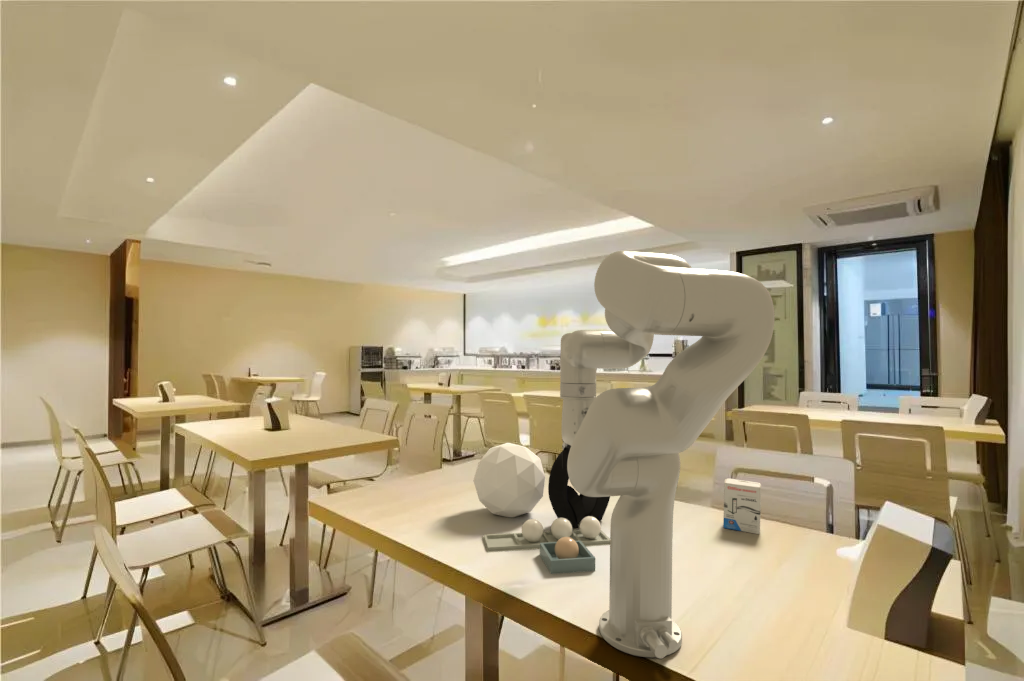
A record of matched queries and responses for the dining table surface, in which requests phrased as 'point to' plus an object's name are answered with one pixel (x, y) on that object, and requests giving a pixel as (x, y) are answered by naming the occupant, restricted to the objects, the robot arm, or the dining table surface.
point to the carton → (520, 543)
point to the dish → (579, 564)
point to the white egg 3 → (590, 527)
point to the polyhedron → (509, 480)
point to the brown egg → (566, 548)
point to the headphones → (572, 498)
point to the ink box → (742, 505)
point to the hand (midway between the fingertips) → (577, 473)
